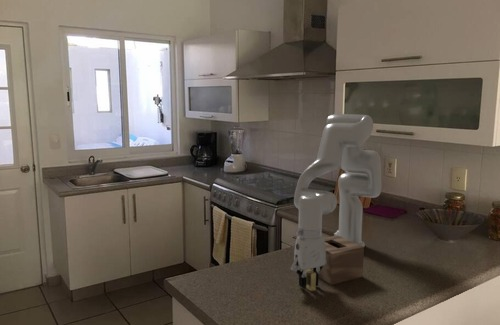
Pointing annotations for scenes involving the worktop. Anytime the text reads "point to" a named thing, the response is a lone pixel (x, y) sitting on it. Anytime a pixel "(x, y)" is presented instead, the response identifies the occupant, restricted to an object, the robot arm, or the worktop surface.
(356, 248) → the box
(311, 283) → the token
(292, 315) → the worktop surface
